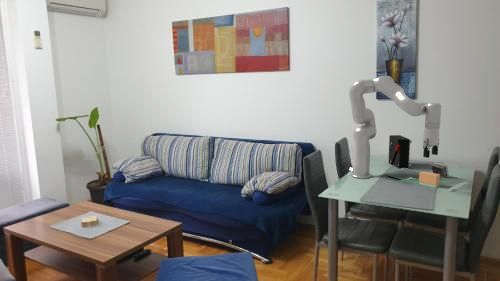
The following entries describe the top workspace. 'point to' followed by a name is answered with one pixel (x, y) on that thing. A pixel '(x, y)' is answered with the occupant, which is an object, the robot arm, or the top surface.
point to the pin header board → (416, 181)
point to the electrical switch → (440, 169)
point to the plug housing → (429, 178)
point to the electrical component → (399, 151)
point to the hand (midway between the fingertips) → (430, 155)
